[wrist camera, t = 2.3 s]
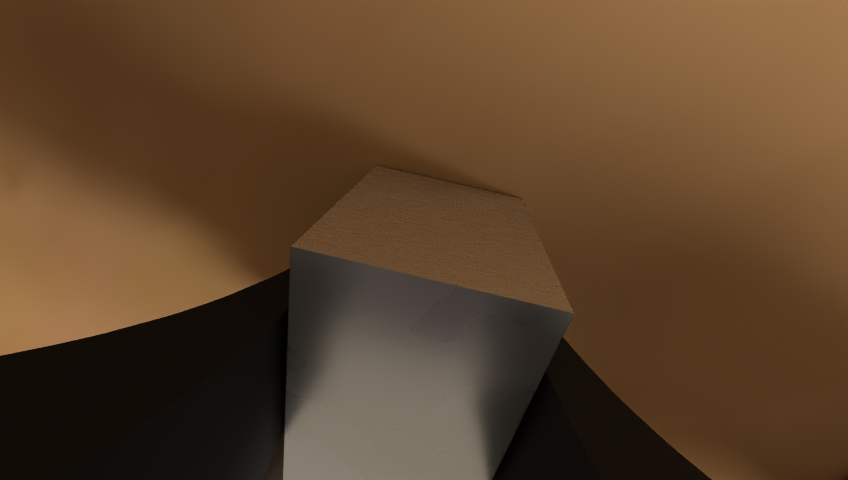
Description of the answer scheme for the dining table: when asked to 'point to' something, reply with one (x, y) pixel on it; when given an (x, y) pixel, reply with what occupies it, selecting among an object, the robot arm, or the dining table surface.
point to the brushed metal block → (415, 332)
